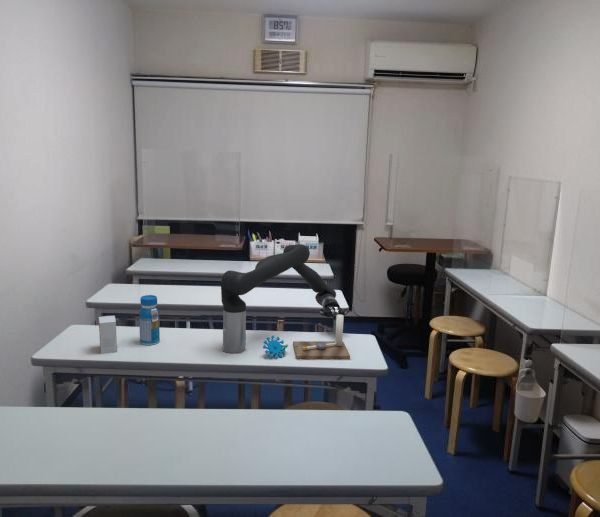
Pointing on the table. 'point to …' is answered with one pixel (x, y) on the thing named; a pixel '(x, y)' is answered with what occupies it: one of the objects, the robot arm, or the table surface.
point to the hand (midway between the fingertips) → (336, 318)
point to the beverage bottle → (149, 320)
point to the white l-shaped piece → (337, 337)
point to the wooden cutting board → (320, 351)
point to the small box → (107, 334)
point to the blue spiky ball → (274, 347)
